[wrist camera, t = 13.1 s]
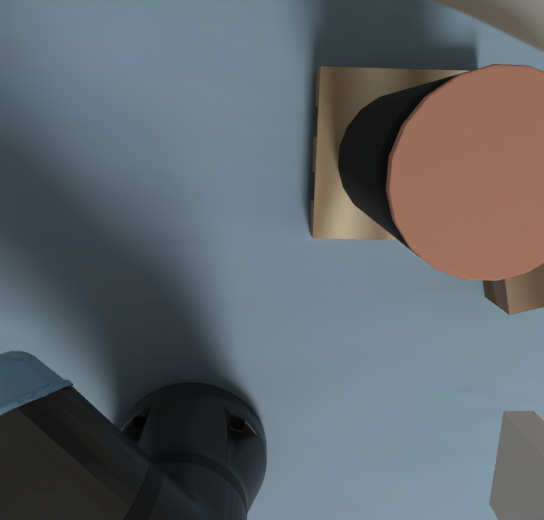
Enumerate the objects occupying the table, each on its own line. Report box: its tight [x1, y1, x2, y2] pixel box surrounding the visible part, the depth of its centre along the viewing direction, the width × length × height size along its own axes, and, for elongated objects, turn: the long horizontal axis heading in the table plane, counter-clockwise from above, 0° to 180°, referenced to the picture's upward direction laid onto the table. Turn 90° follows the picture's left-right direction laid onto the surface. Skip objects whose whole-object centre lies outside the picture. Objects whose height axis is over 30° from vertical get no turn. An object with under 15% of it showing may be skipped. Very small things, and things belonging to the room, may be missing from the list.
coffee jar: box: [338, 64, 544, 281], centre depth 33 cm, size 11×11×18 cm
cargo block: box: [483, 263, 544, 315], centre depth 46 cm, size 5×5×5 cm
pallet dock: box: [309, 66, 467, 240], centre depth 44 cm, size 14×14×3 cm
